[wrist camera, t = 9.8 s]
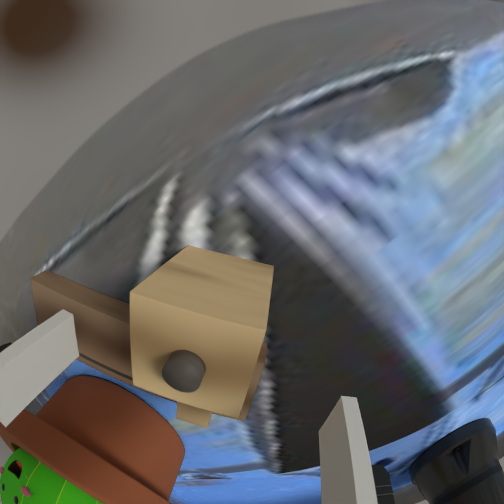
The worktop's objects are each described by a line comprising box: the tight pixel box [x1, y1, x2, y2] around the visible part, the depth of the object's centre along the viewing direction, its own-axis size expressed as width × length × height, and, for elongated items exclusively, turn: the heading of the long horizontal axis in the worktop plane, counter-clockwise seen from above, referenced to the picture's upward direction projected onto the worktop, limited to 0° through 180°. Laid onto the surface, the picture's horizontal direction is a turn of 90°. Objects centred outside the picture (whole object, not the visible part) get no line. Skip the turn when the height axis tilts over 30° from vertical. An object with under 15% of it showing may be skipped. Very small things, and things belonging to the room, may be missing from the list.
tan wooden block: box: [130, 245, 274, 427], centre depth 16 cm, size 12×6×9 cm, turn 168°
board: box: [31, 270, 267, 421], centre depth 20 cm, size 7×22×3 cm, turn 78°
